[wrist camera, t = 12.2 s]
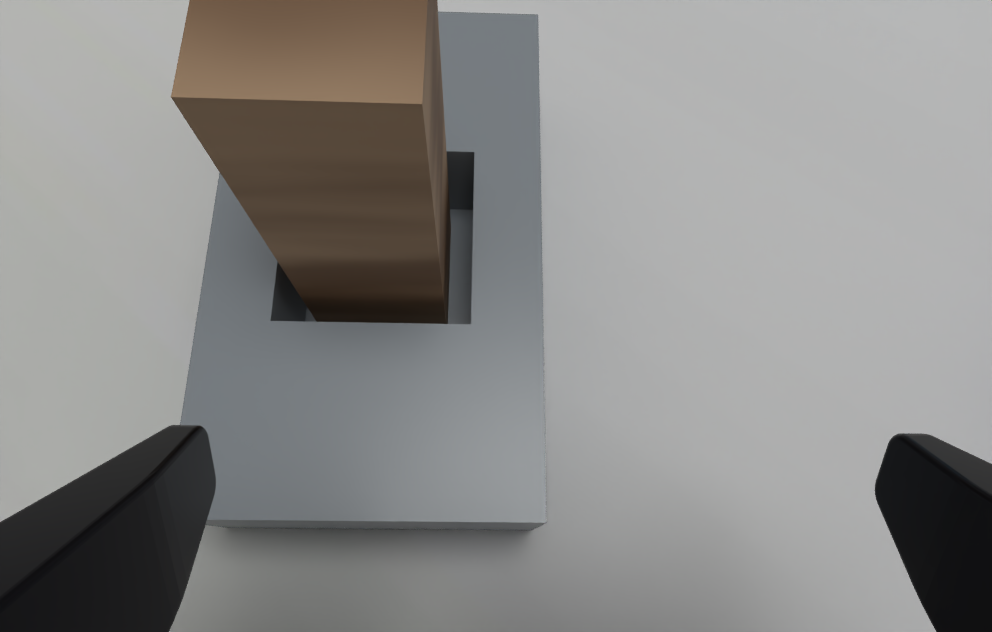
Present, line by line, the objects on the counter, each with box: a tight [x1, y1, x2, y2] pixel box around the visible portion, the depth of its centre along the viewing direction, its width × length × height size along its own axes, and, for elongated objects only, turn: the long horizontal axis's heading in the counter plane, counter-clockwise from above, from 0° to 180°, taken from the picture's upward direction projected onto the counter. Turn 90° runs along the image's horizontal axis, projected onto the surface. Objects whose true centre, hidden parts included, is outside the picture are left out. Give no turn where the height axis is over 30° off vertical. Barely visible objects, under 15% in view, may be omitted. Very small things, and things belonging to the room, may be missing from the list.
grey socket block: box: [180, 12, 546, 530], centre depth 22 cm, size 16×10×4 cm, turn 0°
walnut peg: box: [171, 0, 451, 324], centre depth 18 cm, size 4×4×12 cm
